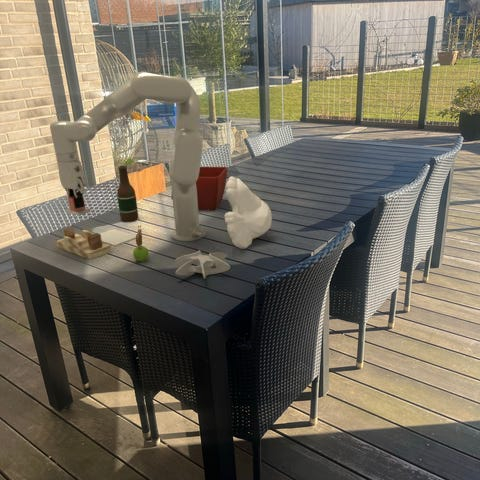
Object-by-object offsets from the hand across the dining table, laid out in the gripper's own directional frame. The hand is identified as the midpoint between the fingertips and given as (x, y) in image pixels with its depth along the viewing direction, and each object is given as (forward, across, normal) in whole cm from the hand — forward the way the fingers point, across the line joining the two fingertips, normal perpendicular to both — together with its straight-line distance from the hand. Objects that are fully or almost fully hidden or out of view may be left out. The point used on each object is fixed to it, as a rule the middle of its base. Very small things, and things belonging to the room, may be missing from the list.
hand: (77, 206), depth 175 cm
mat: (+17, 0, -13) cm, 22 cm away
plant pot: (+18, -3, -63) cm, 66 cm away
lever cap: (+2, 0, 0) cm, 2 cm away
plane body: (+17, 0, +1) cm, 17 cm away
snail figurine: (+18, -27, -5) cm, 32 cm away
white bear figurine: (+18, -46, -39) cm, 63 cm away
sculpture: (+18, -52, -10) cm, 56 cm away
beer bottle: (+18, +13, -31) cm, 38 cm away
